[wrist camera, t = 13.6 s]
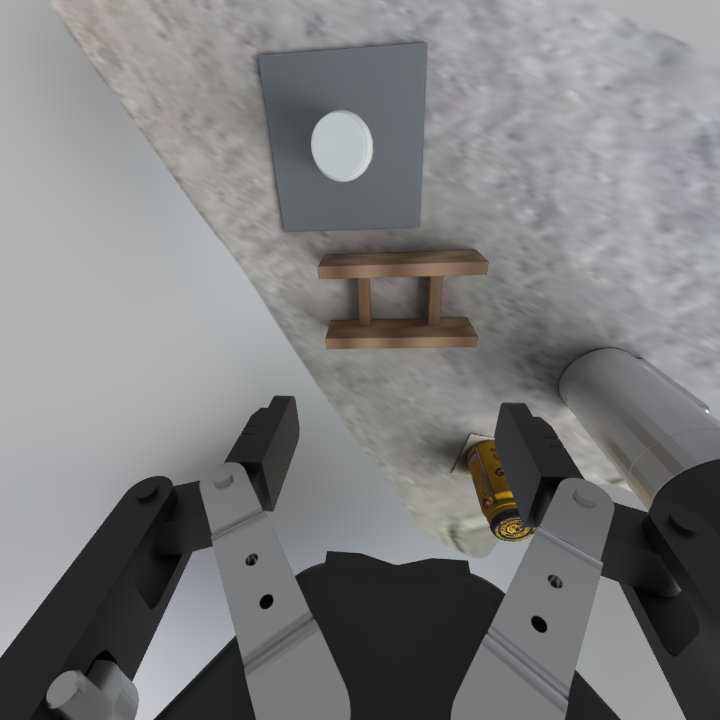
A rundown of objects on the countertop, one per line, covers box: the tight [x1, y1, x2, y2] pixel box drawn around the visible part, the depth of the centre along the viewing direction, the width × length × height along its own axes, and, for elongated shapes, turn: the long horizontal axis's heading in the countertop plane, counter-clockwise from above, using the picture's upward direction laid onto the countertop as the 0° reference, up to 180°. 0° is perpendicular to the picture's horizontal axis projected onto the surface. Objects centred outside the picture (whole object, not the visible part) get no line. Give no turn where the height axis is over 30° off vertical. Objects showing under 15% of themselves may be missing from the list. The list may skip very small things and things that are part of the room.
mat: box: [258, 42, 427, 232], centre depth 31 cm, size 14×14×1 cm
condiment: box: [451, 434, 537, 541], centre depth 45 cm, size 7×8×12 cm
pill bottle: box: [311, 110, 374, 182], centre depth 27 cm, size 5×5×8 cm
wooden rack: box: [318, 250, 489, 349], centre depth 36 cm, size 16×9×5 cm, turn 93°
